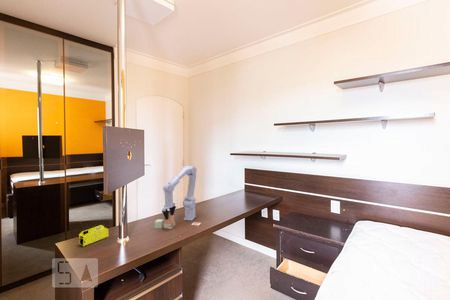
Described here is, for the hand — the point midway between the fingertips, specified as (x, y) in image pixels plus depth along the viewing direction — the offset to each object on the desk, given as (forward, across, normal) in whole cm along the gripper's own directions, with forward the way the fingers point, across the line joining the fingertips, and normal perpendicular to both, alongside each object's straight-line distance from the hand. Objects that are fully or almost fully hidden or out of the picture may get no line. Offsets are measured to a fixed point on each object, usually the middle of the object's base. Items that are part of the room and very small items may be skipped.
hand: (169, 217), depth 165 cm
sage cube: (+7, +2, -8) cm, 11 cm away
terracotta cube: (+4, 0, 0) cm, 4 cm away
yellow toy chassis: (+7, +34, -36) cm, 50 cm away
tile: (+7, -10, +18) cm, 21 cm away
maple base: (+7, 0, 0) cm, 7 cm away
